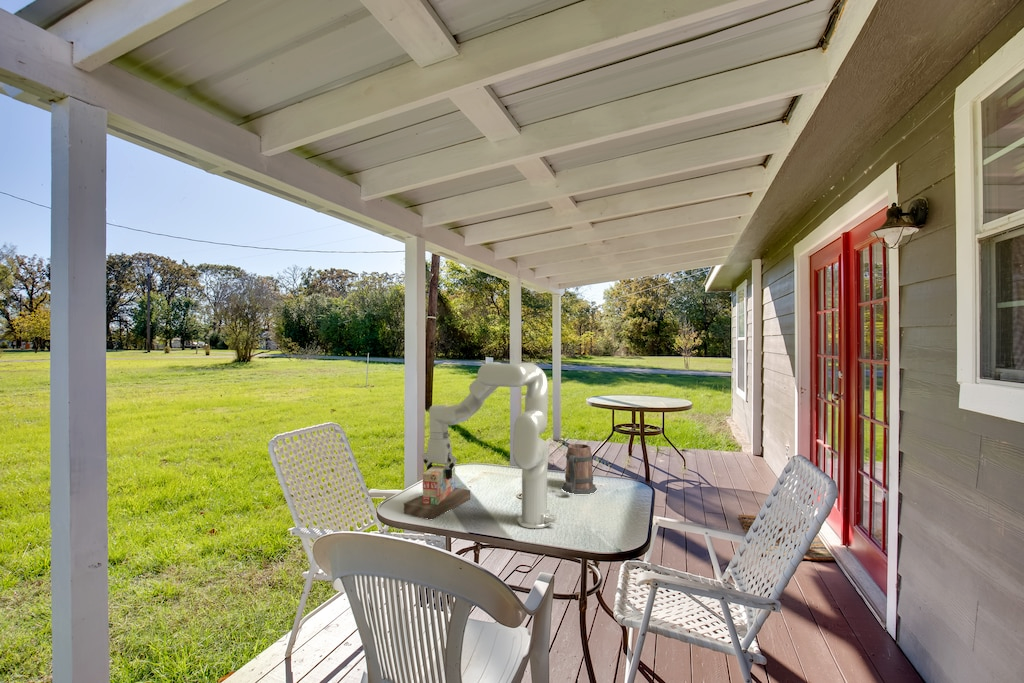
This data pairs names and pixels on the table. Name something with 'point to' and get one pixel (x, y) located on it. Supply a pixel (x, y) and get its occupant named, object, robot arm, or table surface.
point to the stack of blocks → (437, 484)
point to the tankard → (579, 470)
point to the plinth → (433, 511)
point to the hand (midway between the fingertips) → (439, 477)
